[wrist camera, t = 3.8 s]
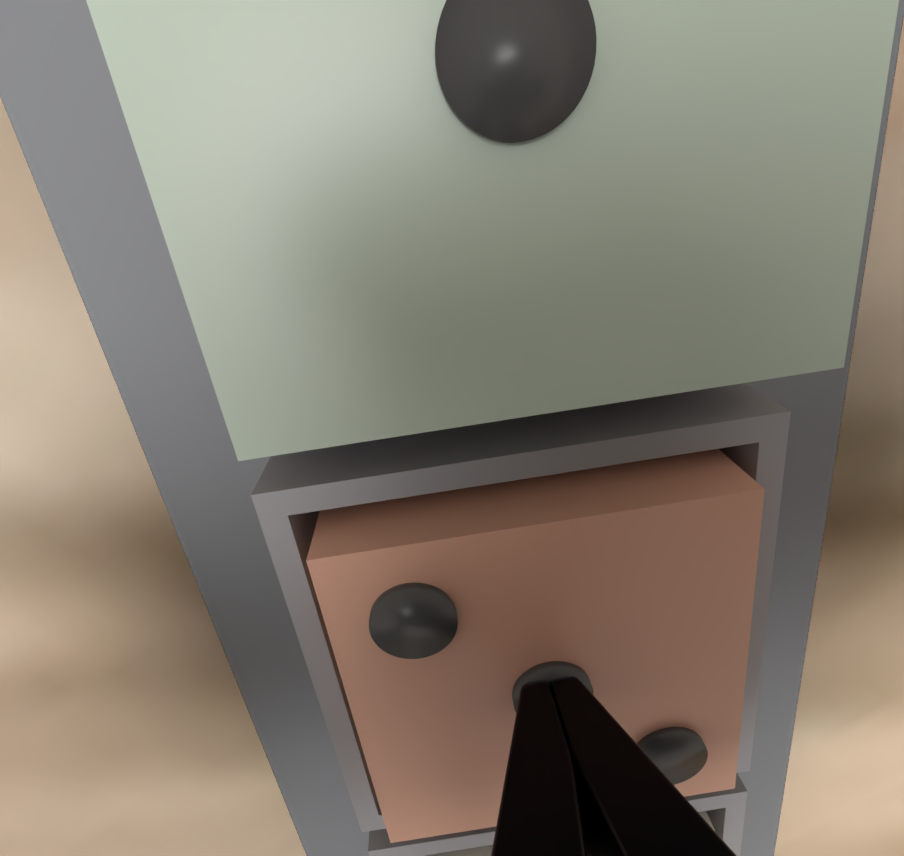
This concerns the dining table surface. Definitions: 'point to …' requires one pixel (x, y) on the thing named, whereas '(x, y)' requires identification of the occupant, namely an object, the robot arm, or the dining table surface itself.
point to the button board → (384, 464)
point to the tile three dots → (541, 623)
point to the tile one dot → (500, 198)
